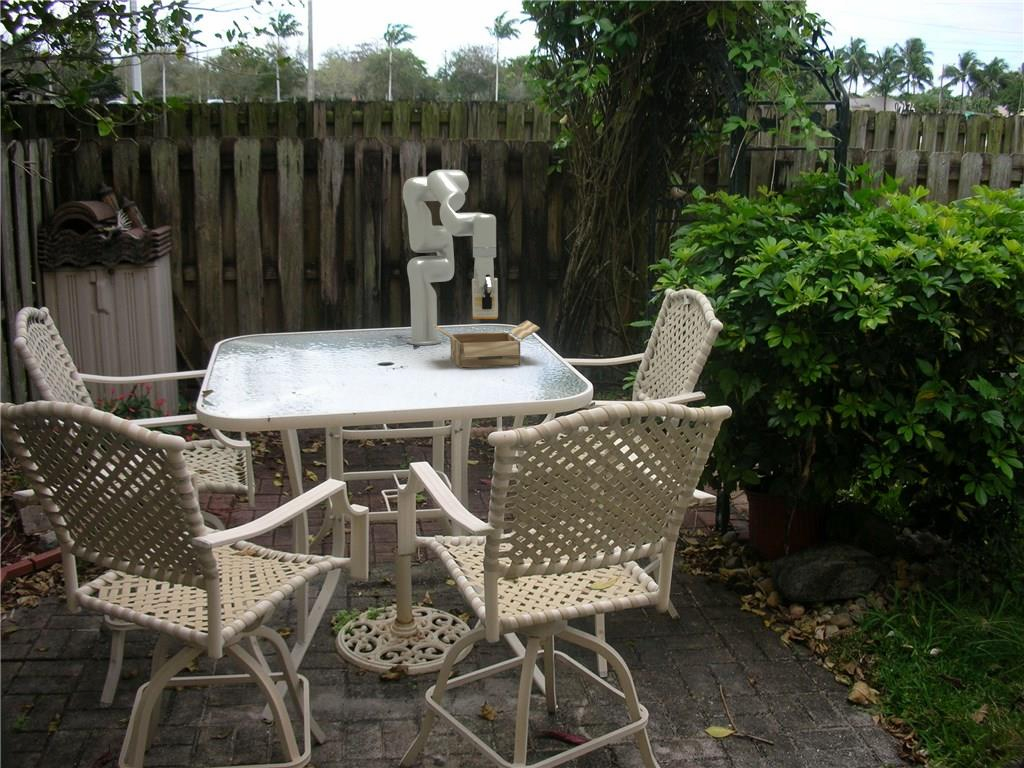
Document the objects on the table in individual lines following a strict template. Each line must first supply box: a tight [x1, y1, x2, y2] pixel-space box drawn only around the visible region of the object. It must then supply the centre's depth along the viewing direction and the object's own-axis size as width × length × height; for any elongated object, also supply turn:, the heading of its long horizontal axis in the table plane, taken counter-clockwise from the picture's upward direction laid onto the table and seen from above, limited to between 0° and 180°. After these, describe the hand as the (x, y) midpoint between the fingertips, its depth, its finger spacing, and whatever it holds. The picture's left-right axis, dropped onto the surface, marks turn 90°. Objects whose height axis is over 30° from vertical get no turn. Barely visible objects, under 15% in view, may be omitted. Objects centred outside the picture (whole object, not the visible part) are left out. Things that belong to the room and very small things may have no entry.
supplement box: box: [471, 277, 499, 320], centre depth 317 cm, size 8×5×13 cm, turn 86°
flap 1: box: [431, 323, 458, 342], centre depth 317 cm, size 16×1×7 cm
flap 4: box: [509, 319, 541, 341], centre depth 323 cm, size 16×1×7 cm
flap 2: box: [452, 331, 506, 335], centre depth 330 cm, size 1×18×5 cm, turn 104°
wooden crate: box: [449, 332, 521, 369], centre depth 321 cm, size 17×20×8 cm
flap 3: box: [463, 341, 519, 358], centre depth 311 cm, size 1×18×5 cm, turn 103°
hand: (484, 307), depth 318 cm, fingers closed on supplement box, 5 cm apart
